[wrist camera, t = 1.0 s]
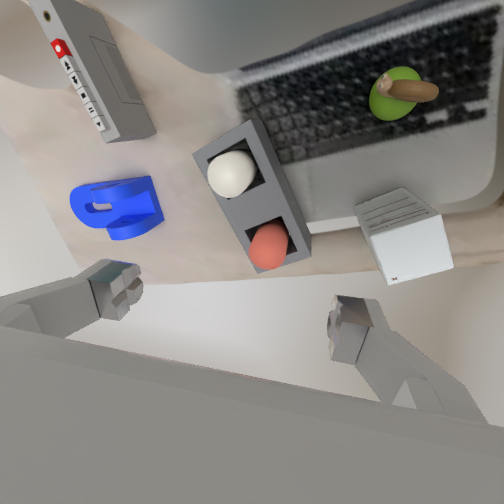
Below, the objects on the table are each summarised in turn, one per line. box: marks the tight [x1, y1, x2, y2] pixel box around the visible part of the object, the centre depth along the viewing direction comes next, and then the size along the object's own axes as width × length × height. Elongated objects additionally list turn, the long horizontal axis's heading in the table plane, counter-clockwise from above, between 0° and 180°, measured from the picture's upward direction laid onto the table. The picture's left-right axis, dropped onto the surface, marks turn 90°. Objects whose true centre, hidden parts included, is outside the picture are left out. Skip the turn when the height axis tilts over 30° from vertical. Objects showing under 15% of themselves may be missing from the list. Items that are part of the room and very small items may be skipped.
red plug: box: [249, 219, 289, 270], centre depth 36 cm, size 5×5×6 cm
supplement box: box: [354, 187, 454, 285], centre depth 33 cm, size 7×7×13 cm
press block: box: [192, 119, 311, 274], centre depth 38 cm, size 9×20×8 cm, turn 27°
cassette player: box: [27, 0, 157, 143], centre depth 33 cm, size 16×3×10 cm, turn 20°
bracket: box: [70, 176, 164, 240], centre depth 44 cm, size 18×8×9 cm, turn 98°
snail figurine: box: [369, 67, 439, 121], centre depth 27 cm, size 5×6×12 cm
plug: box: [207, 149, 258, 198], centre depth 32 cm, size 5×5×6 cm
